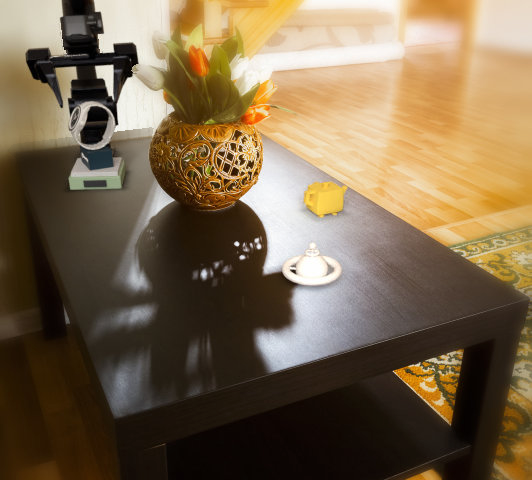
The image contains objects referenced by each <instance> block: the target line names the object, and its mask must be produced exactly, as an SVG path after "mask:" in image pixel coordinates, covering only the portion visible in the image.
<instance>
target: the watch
mask: <svg viewBox="0 0 532 480" xmlns="http://www.w3.org/2000/svg"><path fill="white" fill-rule="evenodd" d="M91 106H99V107H102V108H104V109H105V110H106V111H107V112H108V114H109V121H108V124H107V129H106V131H105V134H104V136H103V140H102V141H101V142H98V143H91V144H83V143H81V140H79V139H78V138H79V136H80V132H81V130H82V129H83V127H84V126H85V123H86V120H87V112H88V111H89V109H90V107H91ZM115 125H116V124H115V121H114V117H113V114H112V113H111V111H110V110H109V109H108V108H106V107H105V106H104V105H102V104H100V103H98V102H93V101H89V102H84V103H82V104H81V105H77V106H76V107H75V108H74V110H73V112H72V114H71V117H70V116H69V120H68V125H67V126H68V127H67V128H68V131H69V132H70V135H71V137H72V138H73V139H74V141H75V142H76V143H77V144H78V145H79V151H80V155H81V160H82V162H83V164H84V165H85V166H86V167H87V168H88V169H89V170H90V171H91V170H97V169H104V168H110V167H114V165H113V158H114V156H113V157H112V150H111V149H112V148H111V149H110V148H109V147H108V146H107V145H106V144H109V142H110V143H111V140H112V138H113V136H114V134H115V130H116V128H115Z"/></svg>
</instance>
